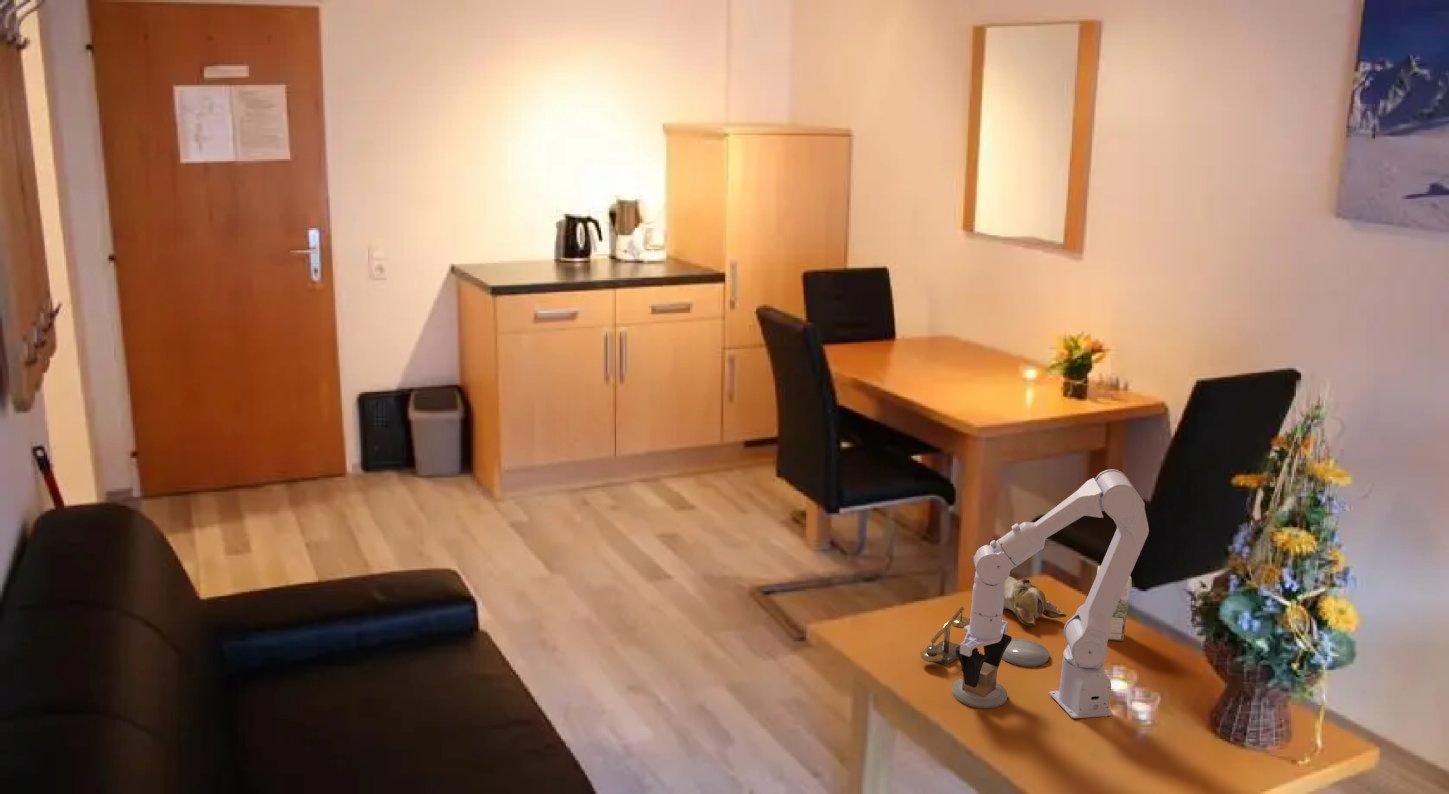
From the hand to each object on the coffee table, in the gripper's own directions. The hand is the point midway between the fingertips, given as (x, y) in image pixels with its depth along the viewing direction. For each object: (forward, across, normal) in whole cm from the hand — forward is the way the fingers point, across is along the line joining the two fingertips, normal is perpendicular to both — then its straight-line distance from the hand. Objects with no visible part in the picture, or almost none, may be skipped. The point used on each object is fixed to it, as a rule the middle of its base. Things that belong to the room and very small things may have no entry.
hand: (980, 678), depth 221 cm
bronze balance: (+3, -10, -13) cm, 17 cm away
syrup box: (+4, -42, +7) cm, 43 cm away
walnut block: (+2, 0, 0) cm, 2 cm away
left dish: (+3, 0, 0) cm, 3 cm away
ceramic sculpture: (+4, -38, -10) cm, 40 cm away
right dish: (+3, -21, -2) cm, 21 cm away
